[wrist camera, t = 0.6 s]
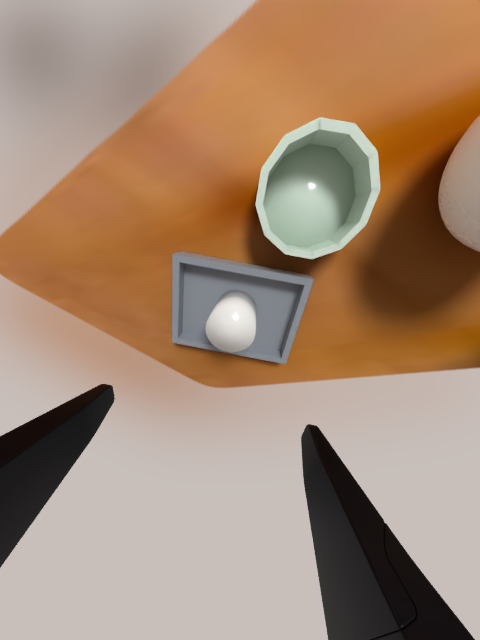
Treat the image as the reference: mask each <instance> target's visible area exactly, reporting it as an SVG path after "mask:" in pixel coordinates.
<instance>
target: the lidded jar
mask: <svg viewBox="0 0 480 640" xmlns="http://www.w3.org/2000/svg"><path fill="white" fill-rule="evenodd" d="M438 202H439V210H440V214H441V218H442V220H443V222H444V224H445V226H446V228H447V229H448V231H449V232H450V233H451V234H452V235H453V236H454V237H455V238H456V239H457V240H458V241H460V242H461V243H462V244H464V245H465V246H467V247H469V248H471V249H474V250H476V251H478V252H480V115H479V116H478V117H477V118H476V119H475V121H474V122H473V123H472V124H471V125H470V126H469V128H468V129H467V131H466V132H465V134H464V135H463V137H462V138H461V139H460V141H459V142H458V144H457V146H456V147H455V149H454V151H453V153H452V154H451V156H450V158H449V160H448V162H447V165H446V167H445V169H444V172H443V175H442V179H441V182H440V187H439V195H438Z"/></svg>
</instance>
